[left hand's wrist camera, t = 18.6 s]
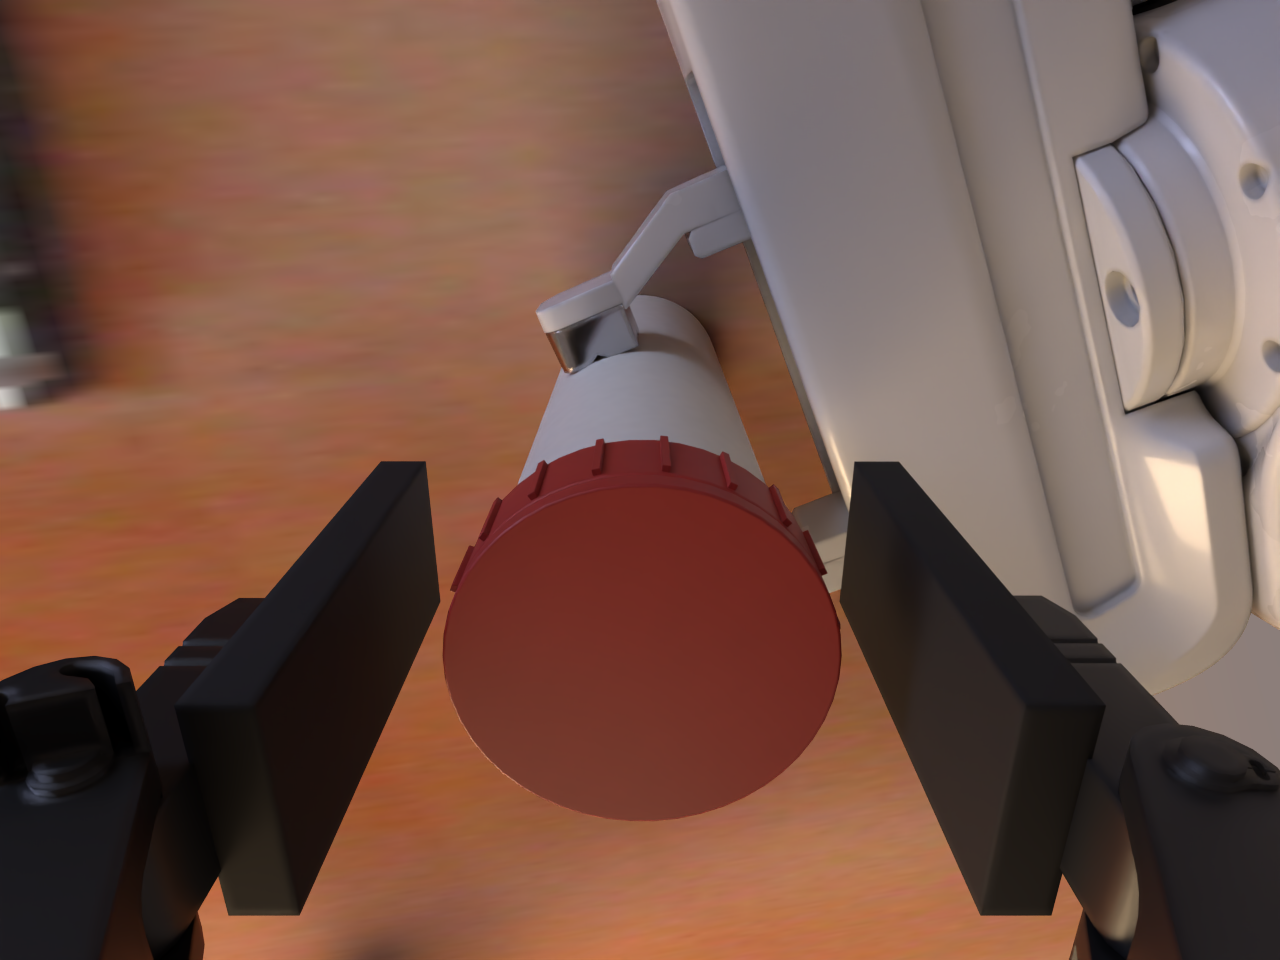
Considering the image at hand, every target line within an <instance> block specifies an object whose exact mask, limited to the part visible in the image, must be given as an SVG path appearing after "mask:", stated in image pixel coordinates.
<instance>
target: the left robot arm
mask: <svg viewBox="0 0 1280 960" xmlns="http://www.w3.org/2000/svg"><path fill="white" fill-rule="evenodd" d="M439 603H440V593H439V584H438V574H437V565H436V555H435V546H434V536H433V527H432V517H431V508H430V498H429V489H428V479H427V470H426V461H381V462H380V463H379V464H378V466H377V467H376V468H375V469H374V470H373V472H372V473H371V474H370V475H369V476H368V477H367V479H366V480H365V481H364V482H363V483H362V484H361V486H360V487H359V488H358V489H357V490H356V492H355V493H354V494H353V495H352V496H351V497H350V499H349V500H348V501H347V502H346V503H345V504H344V506H343V507H342V508H341V509H340V510H339V512H338V513H337V514H336V515H335V516H334V517H333V519H332V520H331V521H330V522H329V523H328V524H327V526H326V527H325V528H324V529H323V530H322V532H321V533H320V534H319V535H318V536H317V537H316V539H315V540H314V541H313V542H312V543H311V544H310V546H309V547H308V548H307V549H306V550H305V552H304V553H303V554H302V555H301V556H300V557H299V559H298V560H297V561H296V562H295V563H294V564H293V566H292V567H291V568H290V569H289V570H288V572H287V573H286V574H285V575H284V576H283V577H282V579H281V580H280V581H279V582H278V583H277V584H276V586H275V587H274V588H273V589H272V590H271V592H270V593H269V594H268V595H267V596H266V597H265V598H238V599H237V600H235V601H233V602H232V603H230V604H228V605H226V606H225V607H223V608H221V609H220V610H218V611H216V612H215V613H213V614H211V615H210V616H208V617H206V618H205V619H204V620H203V621H202V622H201V623H200V624H199V625H198V626H197V627H196V628H195V629H194V630H193V631H192V632H191V634H190V635H189V636H188V637H187V638H186V639H185V640H184V641H183V646H178V647H177V648H176V649H175V651H174V652H173V653H172V654H171V655H170V656H169V657H168V658H167V659H166V660H165V664H164V666H159V668H158V669H157V670H156V671H155V672H154V673H153V674H152V675H151V676H150V677H149V678H148V679H147V680H146V681H145V682H144V683H143V684H142V686H141V687H140V688H139V689H138V690H137V691H136V690H135V686H134V683H133V679H132V676H131V672H130V669H129V667H127V666H126V665H124V664H123V663H121V662H120V661H119V660H117V659H112V658H105V657H98V656H88V657H77V658H67V659H62V660H58V661H55V662H51V663H47V664H43V665H39V666H35V667H32V668H30V669H28V670H25V671H23V672H21V673H18V674H16V675H13V676H11V677H9V678H6V679H4V680H2V681H0V960H203V953H204V938H203V932H202V926H201V922H200V919H199V915H198V912H197V911H198V910H199V908H200V906H201V905H202V903H203V901H204V900H205V898H206V896H207V894H208V893H209V891H210V889H211V888H212V886H213V884H214V882H215V881H216V879H217V877H219V880H220V884H221V888H222V892H223V896H224V900H225V903H226V907H227V911H228V915H300V913H301V911H302V909H303V906H304V904H305V902H306V900H307V898H308V895H309V893H310V891H311V889H312V886H313V884H314V882H315V880H316V877H317V875H318V873H319V871H320V869H321V866H322V864H323V862H324V860H325V857H326V855H327V853H328V851H329V849H330V846H331V844H332V842H333V840H334V837H335V835H336V833H337V831H338V828H339V826H340V824H341V822H342V820H343V817H344V815H345V813H346V811H347V808H348V806H349V804H350V802H351V800H352V797H353V795H354V793H355V791H356V788H357V786H358V784H359V782H360V779H361V777H362V775H363V773H364V771H365V768H366V766H367V764H368V762H369V759H370V757H371V755H372V753H373V750H374V748H375V746H376V744H377V742H378V739H379V737H380V735H381V733H382V730H383V728H384V726H385V724H386V722H387V719H388V717H389V715H390V713H391V710H392V708H393V706H394V704H395V701H396V699H397V697H398V695H399V693H400V690H401V688H402V686H403V684H404V681H405V679H406V677H407V675H408V672H409V670H410V668H411V666H412V664H413V661H414V659H415V657H416V655H417V652H418V650H419V648H420V646H421V644H422V641H423V639H424V637H425V635H426V632H427V630H428V628H429V626H430V623H431V621H432V619H433V617H434V615H435V612H436V610H437V608H438V606H439ZM840 603H841V606H842V608H843V610H844V612H845V615H846V617H847V619H848V621H849V623H850V626H851V628H852V630H853V632H854V635H855V637H856V639H857V641H858V644H859V646H860V648H861V650H862V652H863V655H864V657H865V659H866V661H867V664H868V666H869V668H870V670H871V672H872V675H873V677H874V679H875V681H876V684H877V686H878V688H879V690H880V693H881V695H882V697H883V699H884V701H885V704H886V706H887V708H888V710H889V713H890V715H891V717H892V719H893V722H894V724H895V726H896V728H897V730H898V733H899V735H900V737H901V739H902V742H903V744H904V746H905V748H906V750H907V753H908V755H909V757H910V759H911V762H912V764H913V766H914V768H915V771H916V773H917V775H918V777H919V779H920V782H921V784H922V786H923V788H924V791H925V793H926V795H927V797H928V800H929V802H930V804H931V806H932V808H933V811H934V813H935V815H936V817H937V820H938V822H939V824H940V826H941V828H942V831H943V833H944V835H945V837H946V840H947V842H948V844H949V846H950V849H951V851H952V853H953V855H954V857H955V860H956V862H957V864H958V866H959V869H960V871H961V873H962V875H963V877H964V880H965V882H966V884H967V886H968V889H969V891H970V893H971V895H972V898H973V900H974V902H975V904H976V906H977V909H978V911H979V913H980V915H1052V911H1053V907H1054V903H1055V900H1056V896H1057V892H1058V888H1059V884H1060V880H1061V877H1062V873H1063V875H1064V876H1065V878H1066V880H1067V882H1068V883H1069V885H1070V887H1071V888H1072V890H1073V892H1074V893H1075V895H1076V897H1077V899H1078V900H1079V902H1080V904H1081V905H1082V907H1083V912H1082V915H1081V919H1080V922H1079V926H1078V930H1077V933H1076V937H1075V940H1074V944H1073V947H1072V951H1071V955H1070V958H1069V960H1280V770H1279V769H1278V768H1277V767H1276V766H1275V765H1273V764H1272V763H1271V762H1269V761H1268V760H1266V759H1265V758H1264V757H1262V756H1261V755H1260V754H1258V753H1257V752H1256V751H1254V750H1253V749H1251V748H1249V747H1247V746H1245V745H1243V744H1241V743H1239V742H1237V741H1235V740H1232V739H1230V738H1228V737H1226V736H1224V735H1221V734H1218V733H1215V732H1211V731H1208V730H1205V729H1201V728H1198V727H1195V726H1188V725H1179V724H1178V723H1177V722H1176V721H1175V720H1174V719H1173V717H1172V716H1171V715H1170V714H1169V713H1168V712H1167V711H1166V710H1165V709H1164V708H1163V707H1162V706H1161V705H1160V704H1159V703H1158V702H1157V701H1156V700H1155V698H1154V697H1153V696H1152V695H1151V694H1150V693H1149V692H1148V691H1147V690H1146V689H1145V688H1144V687H1143V686H1142V685H1141V684H1140V683H1139V682H1138V681H1137V680H1136V678H1135V677H1134V676H1133V675H1132V674H1131V673H1130V672H1129V671H1128V670H1127V669H1126V668H1125V667H1124V666H1123V665H1122V664H1121V663H1117V662H1116V657H1115V656H1114V655H1113V654H1112V653H1111V652H1110V651H1109V650H1108V649H1107V648H1106V647H1105V646H1104V645H1103V644H1102V643H1098V638H1097V637H1096V636H1095V635H1094V634H1093V633H1092V632H1091V631H1090V630H1089V629H1088V628H1087V627H1086V626H1085V625H1084V624H1083V623H1082V622H1081V621H1080V620H1079V618H1078V617H1077V616H1076V615H1074V614H1072V613H1071V612H1069V611H1067V610H1066V609H1064V608H1062V607H1060V606H1059V605H1057V604H1055V603H1054V602H1052V601H1050V600H1048V599H1047V598H1045V597H1043V596H1042V595H1012V594H1011V593H1010V592H1009V590H1008V589H1007V588H1006V587H1005V586H1004V584H1003V583H1002V582H1001V581H1000V580H999V579H998V577H997V576H996V575H995V574H994V573H993V572H992V570H991V569H990V568H989V567H988V566H987V564H986V563H985V562H984V561H983V560H982V559H981V557H980V556H979V555H978V554H977V553H976V552H975V550H974V549H973V548H972V547H971V546H970V544H969V543H968V542H967V541H966V540H965V539H964V537H963V536H962V535H961V534H960V533H959V532H958V530H957V529H956V528H955V527H954V526H953V524H952V523H951V522H950V521H949V520H948V519H947V517H946V516H945V515H944V514H943V513H942V512H941V510H940V509H939V508H938V507H937V506H936V504H935V503H934V502H933V501H932V500H931V499H930V497H929V496H928V495H927V494H926V493H925V492H924V490H923V489H922V488H921V487H920V486H919V484H918V483H917V482H916V481H915V480H914V479H913V477H912V476H911V475H910V474H909V473H908V472H907V470H906V469H905V468H904V467H903V466H902V464H901V463H900V462H899V461H854V470H853V479H852V489H851V498H850V508H849V517H848V527H847V536H846V546H845V555H844V565H843V574H842V584H841V593H840Z"/></svg>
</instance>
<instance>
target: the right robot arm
mask: <svg viewBox="0 0 1280 960" xmlns="http://www.w3.org/2000/svg"><path fill="white" fill-rule="evenodd" d="M656 2H657V4H658V7H659V10H660V13H661V16H662V18H663V21H664V24H665V27H666V30H667V32H668V35H669V38H670V41H671V44H672V46H673V49H674V52H675V55H676V58H677V60H678V63H679V66H680V69H681V72H682V74H683V77H684V80H685V83H686V85H687V88H688V91H689V94H690V97H691V99H692V102H693V105H694V108H695V111H696V113H697V116H698V119H699V122H700V125H701V127H702V130H703V133H704V136H705V139H706V141H707V144H708V147H709V150H710V153H711V155H712V158H713V161H714V164H715V167H716V169H714V170H711V171H709V172H707V173H705V174H702V175H700V176H698V177H696V178H694V179H691V180H689V181H687V182H685V183H682V184H680V185H678V186H676V187H674V188H671V189H669V190H667V191H666V192H665V193H664V195H663V196H662V197H661V199H660V200H659V202H658V203H657V204H656V206H655V207H654V208H653V210H652V211H651V213H650V214H649V215H648V217H647V218H646V219H645V221H644V222H643V224H642V225H641V226H640V228H639V229H638V230H637V232H636V233H635V234H634V236H633V237H632V239H631V240H630V241H629V243H628V244H627V245H626V247H625V248H624V250H623V251H622V252H621V254H620V255H619V256H618V258H617V259H616V261H615V262H614V263H613V266H612V270H611V271H610V272H608V273H605V274H603V275H601V276H598V277H596V278H594V279H591V280H589V281H587V282H584V283H582V284H580V285H577V286H575V287H573V288H570V289H568V290H566V291H564V292H561V293H559V294H557V295H555V296H554V297H552V298H550V299H548V300H546V301H545V302H543V303H541V304H540V306H539V307H538V309H537V310H536V314H537V316H538V318H539V321H540V323H541V325H542V328H543V330H544V332H545V333H546V336H547V338H548V340H549V342H550V344H551V346H552V348H553V350H554V352H555V354H556V356H557V358H558V360H559V362H560V364H561V367H562V369H563V371H564V373H567V374H568V373H572V372H576V371H579V370H581V369H584V368H586V367H587V366H589V365H591V364H592V363H593V361H594V360H595V358H596V356H597V355H600V356H605V357H611V356H615V355H618V354H620V353H623V352H625V351H627V350H630V349H632V348H634V347H637V346H639V338H638V335H639V328H638V326H637V323H636V321H635V318H634V316H633V313H632V311H631V308H630V306H629V305H630V304H631V303H632V301H633V300H634V299H635V297H636V296H637V295H638V294H639V292H640V291H641V290H642V288H643V287H644V286H645V284H646V283H647V282H648V280H649V279H650V278H651V277H652V275H653V274H654V273H655V271H656V270H657V269H658V267H659V266H660V265H661V263H662V262H663V261H664V260H665V258H666V257H667V256H668V254H669V253H670V252H671V250H672V249H673V248H674V246H675V245H676V244H677V242H678V241H679V240H680V239H681V237H682V236H683V235H684V234H685V236H686V239H687V241H688V244H689V246H690V248H691V250H692V251H693V253H694V255H695V256H696V257H699V258H705V257H707V256H710V255H712V254H715V253H717V252H720V251H722V250H725V249H727V248H729V247H732V246H734V245H737V244H739V243H742V242H743V245H744V248H745V250H746V253H747V256H748V259H749V262H750V264H751V267H752V270H753V273H754V276H755V278H756V281H757V284H758V287H759V290H760V292H761V295H762V298H763V301H764V304H765V306H766V309H767V312H768V315H769V318H770V320H771V323H772V326H773V329H774V332H775V334H776V337H777V340H778V343H779V346H780V348H781V351H782V354H783V357H784V360H785V362H786V365H787V368H788V371H789V374H790V376H791V379H792V382H793V385H794V387H795V390H796V393H797V396H798V399H799V401H800V404H801V407H802V410H803V413H804V415H805V418H806V421H807V424H808V427H809V429H810V432H811V435H812V438H813V441H814V443H815V446H816V449H817V452H818V455H819V457H820V460H821V463H822V466H823V469H824V471H825V474H826V477H827V480H828V483H829V485H830V488H831V491H832V494H830V495H827V496H824V497H822V498H819V499H817V500H814V501H812V502H809V503H806V504H804V505H801V506H799V507H796V508H794V510H793V511H792V515H793V516H794V518H795V519H796V521H797V523H798V525H799V527H800V528H801V530H802V532H804V531H806V530H808V531H809V533H810V535H811V537H812V539H813V542H814V544H815V546H816V548H817V551H818V553H819V555H820V557H821V559H822V562H823V564H824V566H825V568H826V571H827V574H826V575H823V576H822V578H823V580H824V582H825V584H826V587H827V589H828V592H829V593H831V592H834V591H837V590H839V589H841V584H842V574H843V565H844V555H845V546H846V536H847V527H848V517H849V508H850V498H851V489H852V479H853V470H854V461H899V462H900V463H901V464H902V466H903V467H904V468H905V469H906V470H907V472H908V473H909V474H910V475H911V476H912V477H913V479H914V480H915V481H916V482H917V483H918V484H919V486H920V487H921V488H922V489H923V490H924V492H925V493H926V494H927V495H928V496H929V497H930V499H931V500H932V501H933V502H934V503H935V504H936V506H937V507H938V508H939V509H940V510H941V512H942V513H943V514H944V515H945V516H946V517H947V519H948V520H949V521H950V522H951V523H952V524H953V526H954V527H955V528H956V529H957V530H958V532H959V533H960V534H961V535H962V536H963V537H964V539H965V540H966V541H967V542H968V543H969V544H970V546H971V547H972V548H973V549H974V550H975V552H976V553H977V554H978V555H979V556H980V557H981V559H982V560H983V561H984V562H985V563H986V564H987V566H988V567H989V568H990V569H991V570H992V572H993V573H994V574H995V575H996V576H997V577H998V579H999V580H1000V581H1001V582H1002V583H1003V584H1004V586H1005V587H1006V588H1007V589H1008V590H1009V592H1010V593H1011V594H1012V595H1042V596H1043V597H1045V598H1047V599H1048V600H1050V601H1052V602H1054V603H1055V604H1057V605H1059V606H1060V607H1062V608H1064V609H1066V610H1067V611H1069V612H1071V613H1072V614H1074V615H1076V616H1077V617H1078V618H1079V620H1080V621H1081V622H1082V623H1083V624H1084V625H1085V626H1086V627H1087V628H1088V629H1089V630H1090V631H1091V632H1092V633H1093V634H1094V635H1095V636H1096V637H1097V638H1098V643H1102V644H1103V645H1104V646H1105V647H1106V648H1107V649H1108V650H1109V651H1110V652H1111V653H1112V654H1113V655H1114V656H1115V657H1116V662H1117V663H1121V664H1122V665H1123V666H1124V667H1125V668H1126V669H1127V670H1128V671H1129V672H1130V673H1131V674H1132V675H1133V676H1134V677H1135V678H1136V680H1137V681H1138V682H1139V683H1140V684H1141V685H1142V686H1143V687H1144V688H1145V689H1146V690H1147V691H1148V692H1149V693H1150V694H1151V695H1152V696H1153V695H1156V694H1158V693H1161V692H1163V691H1165V690H1168V689H1170V688H1173V687H1175V686H1177V685H1179V684H1181V683H1183V682H1185V681H1187V680H1189V679H1191V678H1193V677H1195V676H1197V675H1198V674H1200V673H1202V672H1203V671H1205V670H1206V669H1208V668H1209V667H1211V666H1212V665H1214V664H1215V663H1216V662H1218V661H1219V660H1220V659H1221V658H1222V657H1223V656H1224V655H1226V654H1227V653H1228V652H1229V651H1230V650H1231V649H1232V647H1233V646H1234V645H1235V643H1236V642H1237V641H1238V639H1239V638H1240V637H1241V635H1242V633H1243V631H1244V629H1245V627H1246V625H1247V623H1248V620H1249V617H1250V614H1251V613H1253V614H1254V615H1256V616H1257V617H1259V618H1261V619H1262V620H1264V621H1266V622H1267V623H1269V624H1270V625H1272V626H1274V627H1275V628H1277V629H1279V630H1280V0H656Z"/></svg>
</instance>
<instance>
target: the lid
mask: <svg viewBox="0 0 1280 960" xmlns="http://www.w3.org/2000/svg"><path fill="white" fill-rule="evenodd" d="M826 574H827V571H826V568H825V566H824V564H823V562H822V559H821V557H820V555H819V553H818V551H817V548H816V546H815V544H814V542H813V539H812V537H811V535H810V533H809V531H808V530H806V531H804V532H802V530H801V528H800V527H799V525H798V523H797V521H796V519H795V518H794V516H793V515H792V513H791V512H790V511H789V509H788V508H787V507H786V506H785V504H784V501H783V499H782V497H781V494H780V492H779V489H778V488H777V487H776V486H775V485H774V484H773V485H772V486H771V487H770V488H769V487H768V486H767V485H766V484H765V483H763V482H762V481H761V480H759V479H758V478H757V477H755V476H754V475H753V474H751V473H750V472H749V471H747V470H746V469H744V468H742V467H741V466H739V465H737V464H735V463H733V462H732V461H731V459H730V456H729V454H728V453H726V452H723V451H722V453H721V454H720V456H719V455H717V454H714V453H711V452H709V451H706V450H704V449H701V448H697V447H693V446H689V445H685V444H681V443H675V442H669V440H668V436H660V441H659V440H625V441H617V442H609V443H605V442H604V439H603V438H602V439H597V440H596V444H595V446H591V447H587V448H583V449H580V450H578V451H575V452H573V453H570V454H567V455H565V456H562V457H560V458H558V459H556V460H554V461H552V462H551V463H549V464H547V463H546V462H545V460H543V461H541V462H539V463H538V465H537V468H536V471H535V472H534V473H533V474H531V475H530V476H529V477H527V478H526V479H525V480H523V481H522V482H520V483H519V484H518V485H517V486H516V487H515V488H514V489H513V490H512V491H511V492H510V493H509V494H508V495H507V496H506V497H505V498H504V499H503V500H501V499H499V498H497V499H496V500H495V501H494V502H493V505H492V507H491V509H490V512H489V514H488V517H487V519H486V521H485V524H484V526H483V528H482V531H481V533H480V535H479V538H478V540H477V543H476V545H475V547H473V546H469V547H468V550H467V552H466V554H465V556H464V559H463V561H462V563H461V565H460V568H459V570H458V572H457V574H456V577H455V579H454V581H453V583H452V586H451V589H450V591H453V592H455V595H454V598H453V600H452V603H451V606H450V608H449V611H448V615H447V620H446V625H445V630H444V638H443V664H444V673H445V680H446V683H447V687H448V691H449V695H450V698H451V701H452V704H453V706H454V708H455V711H456V713H457V715H458V718H459V720H460V722H461V723H462V725H463V727H464V728H465V730H466V732H467V733H468V735H469V736H470V738H471V740H472V741H473V742H474V743H475V745H476V746H477V747H478V748H479V750H480V751H481V752H482V753H483V754H484V756H485V757H486V758H487V759H488V760H489V761H490V762H491V763H492V764H494V765H495V766H496V767H497V768H498V769H499V770H500V771H501V772H502V773H503V774H505V775H506V776H507V777H509V778H510V779H511V780H513V781H514V782H515V783H517V784H518V785H519V786H521V787H523V788H525V789H526V790H528V791H530V792H531V793H533V794H535V795H537V796H538V797H540V798H542V799H545V800H547V801H549V802H552V803H554V804H556V805H558V806H561V807H564V808H567V809H570V810H573V811H576V812H579V813H583V814H587V815H592V816H597V817H602V818H606V819H616V820H626V821H658V820H668V819H678V818H683V817H687V816H692V815H697V814H702V813H705V812H708V811H711V810H714V809H717V808H720V807H723V806H726V805H728V804H730V803H733V802H735V801H737V800H739V799H742V798H744V797H746V796H748V795H749V794H751V793H753V792H754V791H756V790H758V789H760V788H761V787H763V786H765V785H766V784H767V783H769V782H770V781H771V780H773V779H774V778H775V777H777V776H778V775H779V774H781V773H782V772H783V771H784V770H785V769H786V768H787V767H789V766H790V765H791V764H792V763H793V762H794V761H795V760H796V759H797V758H798V757H799V756H800V755H801V753H802V752H803V751H804V750H805V748H806V747H807V746H808V745H809V744H810V742H811V741H812V740H813V738H814V737H815V735H816V733H817V732H818V730H819V729H820V727H821V725H822V724H823V722H824V720H825V718H826V716H827V713H828V711H829V709H830V706H831V704H832V702H833V699H834V695H835V692H836V688H837V684H838V680H839V675H840V666H841V656H842V655H841V634H840V622H839V619H838V617H837V614H836V610H835V608H834V605H833V602H832V600H831V597H830V594H829V592H828V589H827V587H826V584H825V582H824V580H823V578H822V576H823V575H826Z"/></svg>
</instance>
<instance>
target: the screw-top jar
mask: <svg viewBox="0 0 1280 960" xmlns="http://www.w3.org/2000/svg"><path fill="white" fill-rule="evenodd" d="M629 306H630V308H631V311H632V313H633V316H634V318H635V321H636V323H637V326H638V328H639V335H638V338H639V346H637V347H634V348H632V349H630V350H627V351H625V352H623V353H620V354H618V355H615V356H611V357H605V356H600V355H597V356H596V358H595V360H594V361H593V363H592V364H591V365H589V366H587V367H586V368H584V369H581V370H579V371H576V372H572V373H568V374H567V373H564V371H563V369H562V368H561V371H560V374H559V376H558V379H557V381H556V384H555V387H554V389H553V392H552V395H551V397H550V400H549V403H548V405H547V408H546V411H545V413H544V416H543V419H542V421H541V424H540V427H539V429H538V432H537V435H536V437H535V440H534V443H533V445H532V448H531V451H530V453H529V456H528V459H527V461H526V464H525V467H524V469H523V472H522V475H521V477H520V480H519V483H520V482H522V481H523V480H525V479H526V478H527V477H529V476H530V475H531V474H533V473H534V472H535V471H536V468H537V465H538V463H539V462H541V461H543V460H545V462H546V463H547V464H549V463H551V462H552V461H554V460H556V459H558V458H560V457H562V456H565V455H567V454H570V453H573V452H575V451H578V450H580V449H583V448H587V447H591V446H595V444H596V440H597V439H602V438H603V439H604V442H605V443H609V442H617V441H625V440H659V441H660V436H668V440H669V442H675V443H681V444H685V445H689V446H693V447H697V448H701V449H704V450H706V451H709V452H711V453H714V454H717V455H719V456H720V454H721V453H722V451H723V452H726V453H728V454H729V456H730V459H731V461H732V462H733V463H735V464H737V465H739V466H741V467H742V468H744V469H746V470H747V471H749V472H750V473H751V474H753V475H754V476H755V477H757V478H758V479H759V480H761V481H762V482H763V483H765V481H764V478H763V476H762V473H761V470H760V468H759V465H758V462H757V460H756V457H755V455H754V452H753V449H752V447H751V444H750V442H749V439H748V436H747V434H746V431H745V428H744V426H743V423H742V421H741V418H740V415H739V413H738V410H737V407H736V405H735V402H734V400H733V397H732V394H731V392H730V389H729V386H728V384H727V381H726V379H725V376H724V373H723V371H722V368H721V365H720V363H719V360H718V358H717V355H716V352H715V350H714V347H713V345H712V342H711V340H710V337H709V335H708V334H707V332H706V330H705V329H704V327H703V326H702V325H701V323H700V322H699V321H698V320H697V319H696V318H695V317H694V316H693V315H692V314H691V313H690V312H689V311H687V310H686V309H685V308H683V307H682V306H680V305H678V304H676V303H674V302H672V301H669V300H667V299H664V298H660V297H656V296H648V295H637V296H636V297H635V299H634V300H633V301H632V303H631V304H630V305H629ZM519 483H518V484H519ZM765 484H766V483H765Z"/></svg>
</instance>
